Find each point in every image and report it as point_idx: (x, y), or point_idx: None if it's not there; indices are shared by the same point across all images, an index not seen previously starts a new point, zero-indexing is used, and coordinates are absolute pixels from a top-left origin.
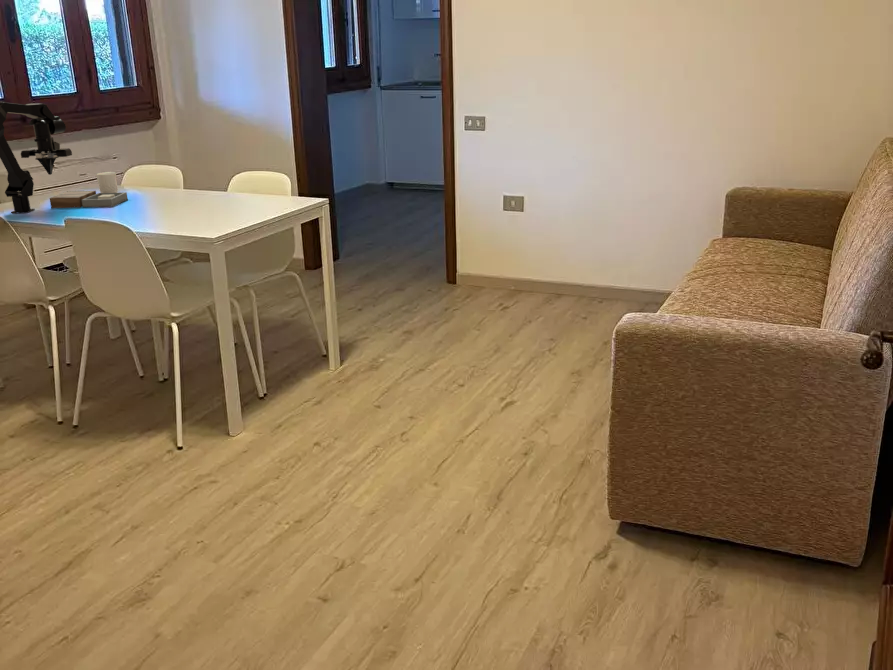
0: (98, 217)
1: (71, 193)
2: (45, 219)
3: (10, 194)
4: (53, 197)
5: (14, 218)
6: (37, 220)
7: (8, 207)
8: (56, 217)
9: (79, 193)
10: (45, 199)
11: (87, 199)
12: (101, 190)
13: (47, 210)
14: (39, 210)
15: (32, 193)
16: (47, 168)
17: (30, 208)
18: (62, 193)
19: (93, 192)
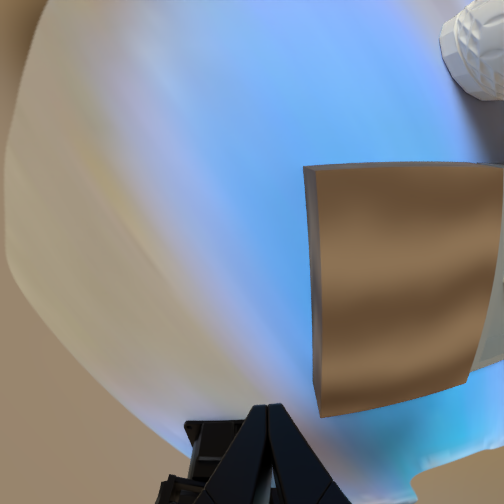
0: (494, 441)
1: (398, 277)
2: (376, 489)
3: (175, 497)
4: (336, 403)
5: None
6: (359, 497)
7: (74, 353)
8: (399, 472)
9: (449, 277)
10: (92, 121)
11: (489, 361)
12: (491, 88)
13: (322, 419)
14: None
15: (277, 494)
16: (268, 502)
17: (239, 427)
18: (326, 276)
19: (498, 205)
